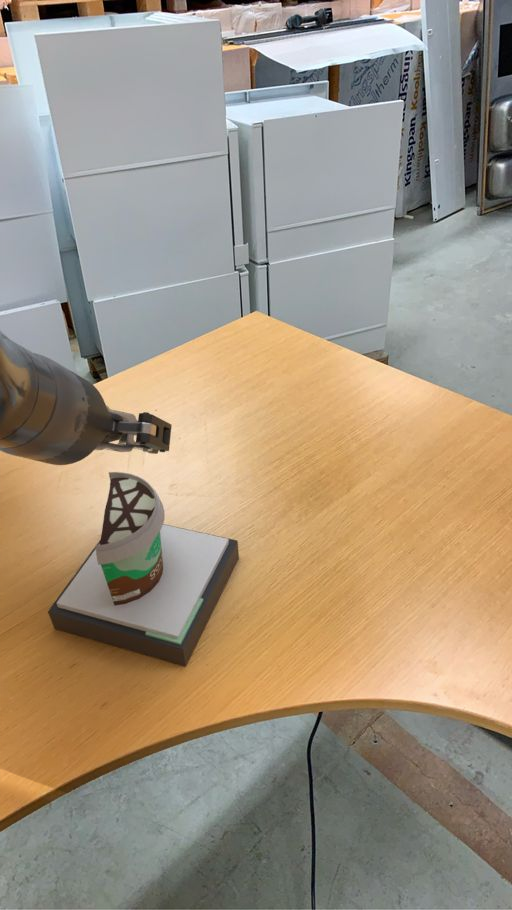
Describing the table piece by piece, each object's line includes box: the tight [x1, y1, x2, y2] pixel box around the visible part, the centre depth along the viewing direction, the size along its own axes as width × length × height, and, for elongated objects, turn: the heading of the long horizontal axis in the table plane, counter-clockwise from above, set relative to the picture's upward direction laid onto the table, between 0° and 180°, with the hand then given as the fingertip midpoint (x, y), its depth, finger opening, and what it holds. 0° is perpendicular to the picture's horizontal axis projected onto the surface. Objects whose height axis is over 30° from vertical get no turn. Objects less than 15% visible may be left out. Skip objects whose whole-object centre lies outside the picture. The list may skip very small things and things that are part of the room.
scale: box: [47, 523, 240, 667], centre depth 75 cm, size 16×16×4 cm
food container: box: [94, 471, 166, 605], centre depth 70 cm, size 12×6×10 cm, turn 3°
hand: (114, 440), depth 65 cm, fingers open, 8 cm apart
